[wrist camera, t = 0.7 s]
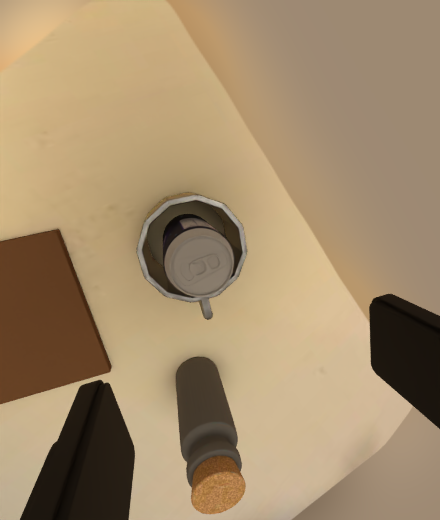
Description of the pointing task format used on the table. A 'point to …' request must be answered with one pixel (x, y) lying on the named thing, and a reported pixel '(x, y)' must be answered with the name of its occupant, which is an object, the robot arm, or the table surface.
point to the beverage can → (196, 256)
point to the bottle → (208, 437)
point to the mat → (44, 319)
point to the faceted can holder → (156, 271)
